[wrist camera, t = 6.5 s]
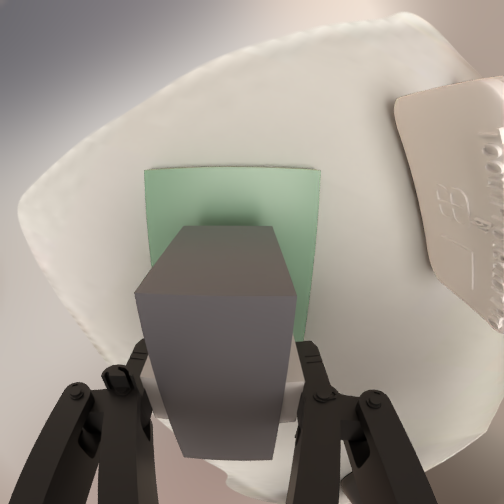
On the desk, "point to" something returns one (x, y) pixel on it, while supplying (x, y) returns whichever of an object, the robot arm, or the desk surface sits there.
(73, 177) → the desk surface
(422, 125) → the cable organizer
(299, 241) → the board
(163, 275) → the block
